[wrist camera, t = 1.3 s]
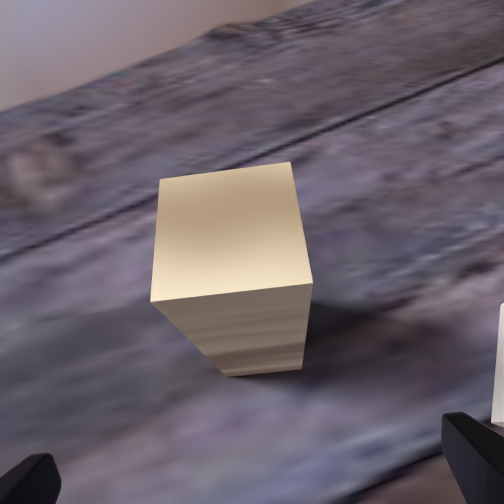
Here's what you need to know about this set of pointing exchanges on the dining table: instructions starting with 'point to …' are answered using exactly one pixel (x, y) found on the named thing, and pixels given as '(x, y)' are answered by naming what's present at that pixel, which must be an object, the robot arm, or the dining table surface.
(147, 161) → the dining table surface
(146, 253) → the dining table surface
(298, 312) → the maple pillar
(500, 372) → the white slab
